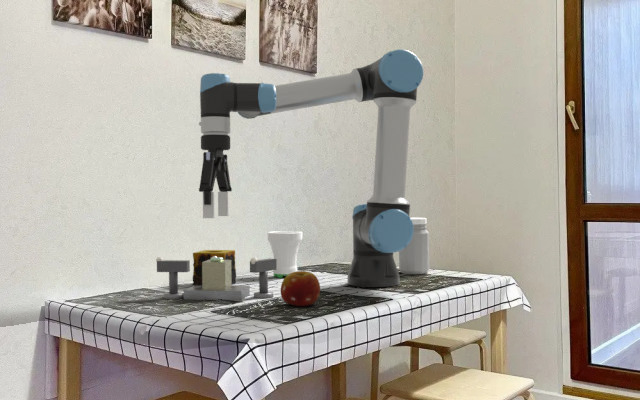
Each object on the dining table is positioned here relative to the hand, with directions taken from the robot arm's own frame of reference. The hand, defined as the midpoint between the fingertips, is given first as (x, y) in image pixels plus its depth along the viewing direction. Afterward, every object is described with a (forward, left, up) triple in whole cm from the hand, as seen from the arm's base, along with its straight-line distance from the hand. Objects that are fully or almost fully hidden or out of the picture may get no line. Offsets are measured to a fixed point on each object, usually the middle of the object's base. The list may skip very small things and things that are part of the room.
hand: (216, 217), depth 174 cm
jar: (-51, -54, -21) cm, 77 cm away
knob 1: (+11, +2, -21) cm, 23 cm away
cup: (-10, -42, -21) cm, 48 cm away
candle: (+7, -22, -21) cm, 31 cm away
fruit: (-23, +10, -21) cm, 33 cm away
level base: (0, 0, -21) cm, 21 cm away
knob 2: (-12, -1, -21) cm, 24 cm away
